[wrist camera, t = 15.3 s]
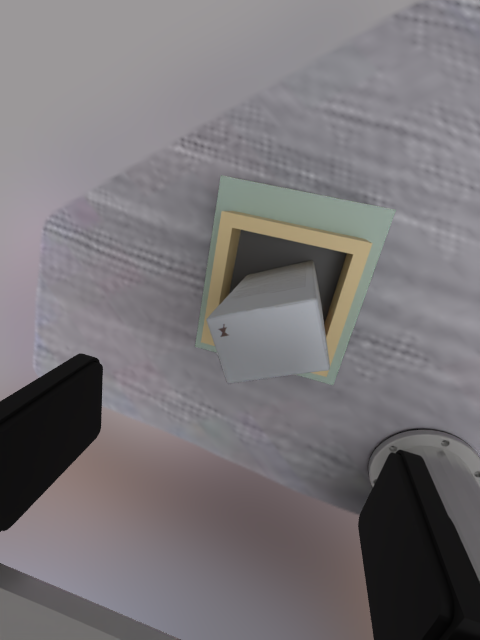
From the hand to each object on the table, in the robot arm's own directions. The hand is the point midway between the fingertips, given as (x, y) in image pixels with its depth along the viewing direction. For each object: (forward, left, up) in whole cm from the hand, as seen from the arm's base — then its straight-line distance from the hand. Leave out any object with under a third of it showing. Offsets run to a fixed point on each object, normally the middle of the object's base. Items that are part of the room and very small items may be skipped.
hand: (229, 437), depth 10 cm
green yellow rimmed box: (0, 0, -26) cm, 26 cm away
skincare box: (0, 0, -19) cm, 19 cm away
